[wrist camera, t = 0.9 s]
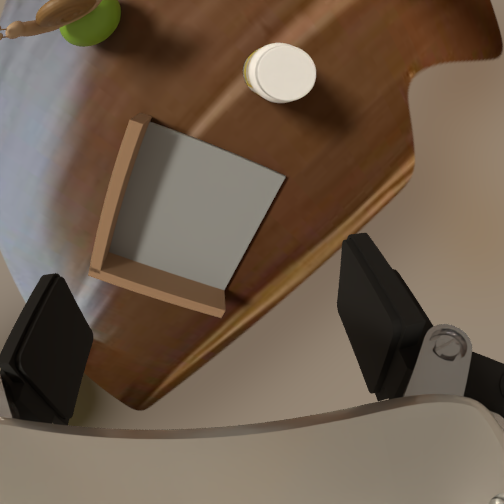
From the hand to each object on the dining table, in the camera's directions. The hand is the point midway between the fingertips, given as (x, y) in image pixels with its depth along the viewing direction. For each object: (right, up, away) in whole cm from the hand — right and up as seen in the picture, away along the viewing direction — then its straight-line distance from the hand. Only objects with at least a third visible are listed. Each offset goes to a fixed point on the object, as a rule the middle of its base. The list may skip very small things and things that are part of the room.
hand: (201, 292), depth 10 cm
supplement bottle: (+3, +17, +16) cm, 24 cm away
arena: (-5, +5, +23) cm, 24 cm away
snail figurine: (-13, +22, +11) cm, 28 cm away
